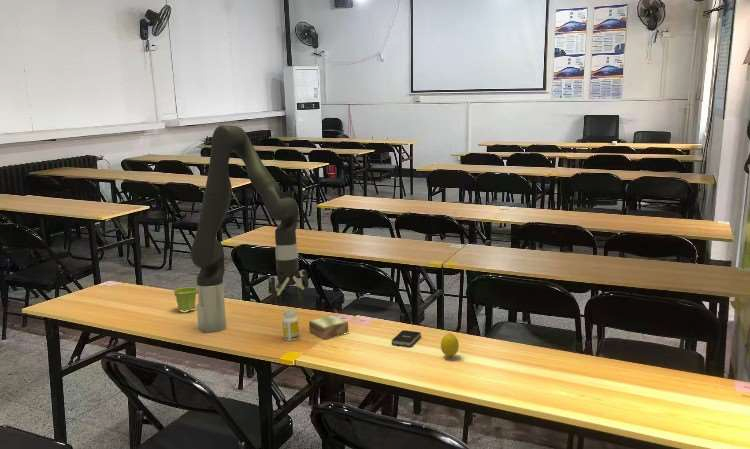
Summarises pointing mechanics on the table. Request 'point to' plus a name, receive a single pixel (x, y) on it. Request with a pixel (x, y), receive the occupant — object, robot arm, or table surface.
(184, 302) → the plant pot
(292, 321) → the supplement bottle
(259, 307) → the table surface
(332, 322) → the pedestal
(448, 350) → the lemon
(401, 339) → the external hard drive
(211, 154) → the robot arm
